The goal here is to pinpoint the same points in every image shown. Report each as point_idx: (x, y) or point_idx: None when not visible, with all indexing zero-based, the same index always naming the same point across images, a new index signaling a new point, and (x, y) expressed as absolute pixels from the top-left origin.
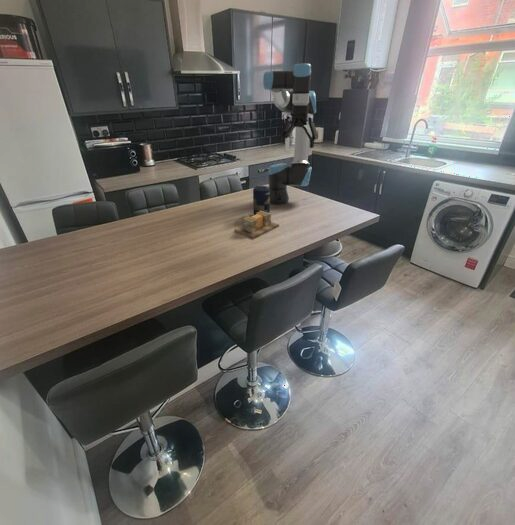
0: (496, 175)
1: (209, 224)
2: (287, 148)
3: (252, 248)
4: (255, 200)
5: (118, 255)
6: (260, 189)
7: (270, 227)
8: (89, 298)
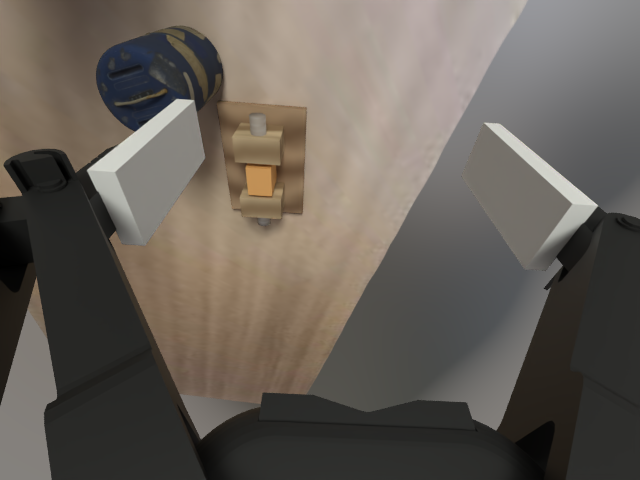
0: None
1: None
2: (189, 149)
3: (329, 240)
4: None
5: (182, 340)
6: None
7: (299, 146)
8: (260, 376)
